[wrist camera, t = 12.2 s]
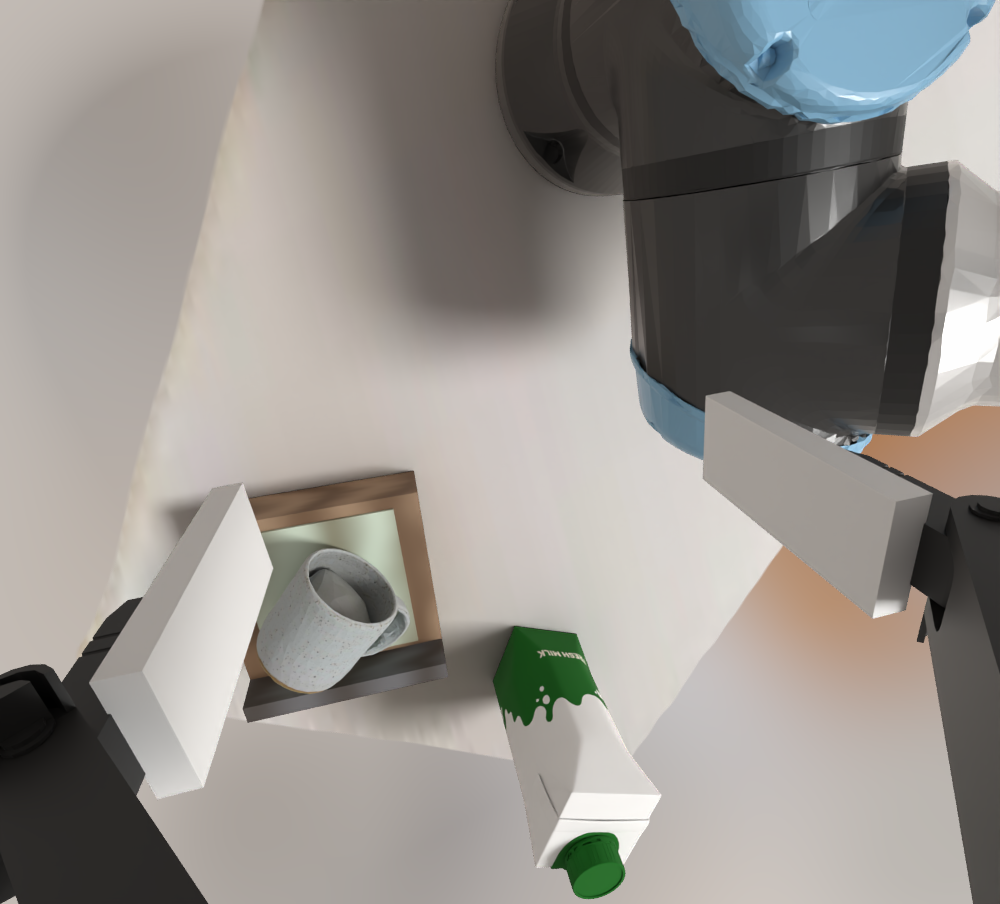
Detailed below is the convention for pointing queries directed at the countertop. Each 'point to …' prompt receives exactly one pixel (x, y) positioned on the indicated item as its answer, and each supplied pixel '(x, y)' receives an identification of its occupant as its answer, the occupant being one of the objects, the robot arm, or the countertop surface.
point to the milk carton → (570, 762)
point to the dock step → (375, 538)
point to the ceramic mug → (329, 621)
